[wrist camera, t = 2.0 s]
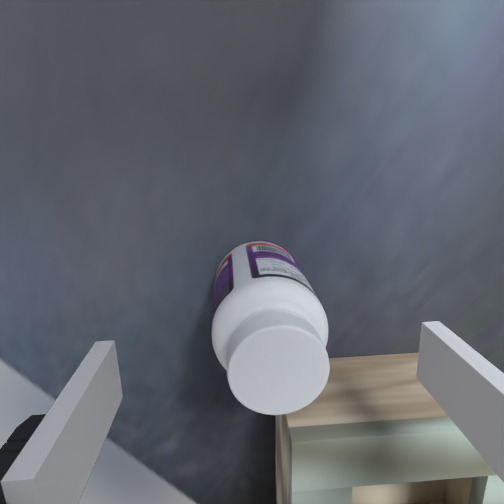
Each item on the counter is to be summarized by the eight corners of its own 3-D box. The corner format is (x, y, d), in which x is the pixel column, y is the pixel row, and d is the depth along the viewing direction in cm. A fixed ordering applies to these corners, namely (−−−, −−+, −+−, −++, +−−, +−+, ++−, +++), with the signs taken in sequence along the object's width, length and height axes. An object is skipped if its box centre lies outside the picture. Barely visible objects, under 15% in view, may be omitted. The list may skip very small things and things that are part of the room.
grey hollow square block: (274, 361, 25) (291, 442, 18) (472, 349, 26) (558, 422, 19) (276, 514, 29) (291, 626, 22) (446, 500, 30) (510, 603, 23)
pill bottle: (242, 332, 24) (252, 452, 15) (198, 266, 23) (179, 354, 13) (314, 293, 24) (371, 390, 14) (274, 223, 22) (309, 282, 13)
